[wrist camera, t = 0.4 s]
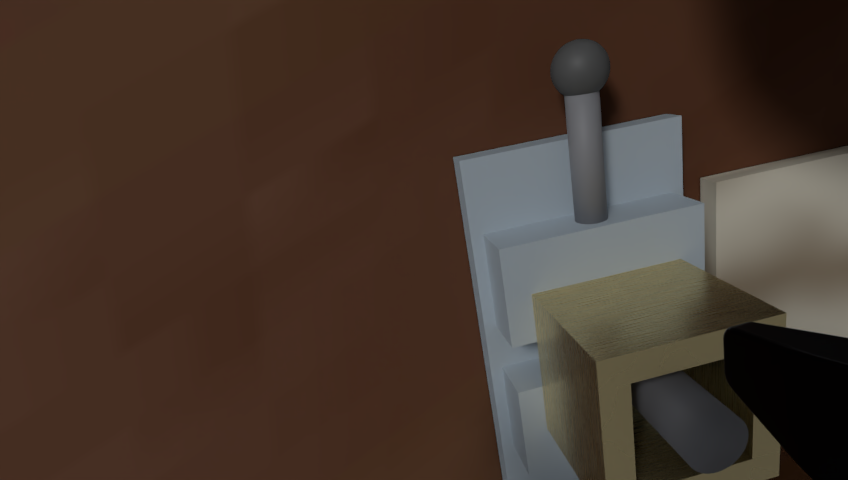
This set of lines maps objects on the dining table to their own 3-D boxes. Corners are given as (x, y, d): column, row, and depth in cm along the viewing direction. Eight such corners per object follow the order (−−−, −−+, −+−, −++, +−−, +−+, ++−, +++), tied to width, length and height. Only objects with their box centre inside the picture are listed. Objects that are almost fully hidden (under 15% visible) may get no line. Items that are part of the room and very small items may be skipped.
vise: (674, 436, 27) (835, 600, 19) (503, 484, 26) (590, 681, 18) (663, 22, 21) (895, -14, 12) (438, 63, 20) (524, 55, 11)
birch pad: (910, 354, 28) (931, 364, 27) (702, 411, 27) (715, 424, 26) (941, 124, 25) (966, 126, 24) (700, 178, 23) (716, 182, 22)
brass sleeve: (683, 391, 23) (779, 475, 18) (547, 428, 22) (609, 526, 17) (680, 258, 21) (786, 313, 16) (531, 294, 20) (595, 362, 15)
